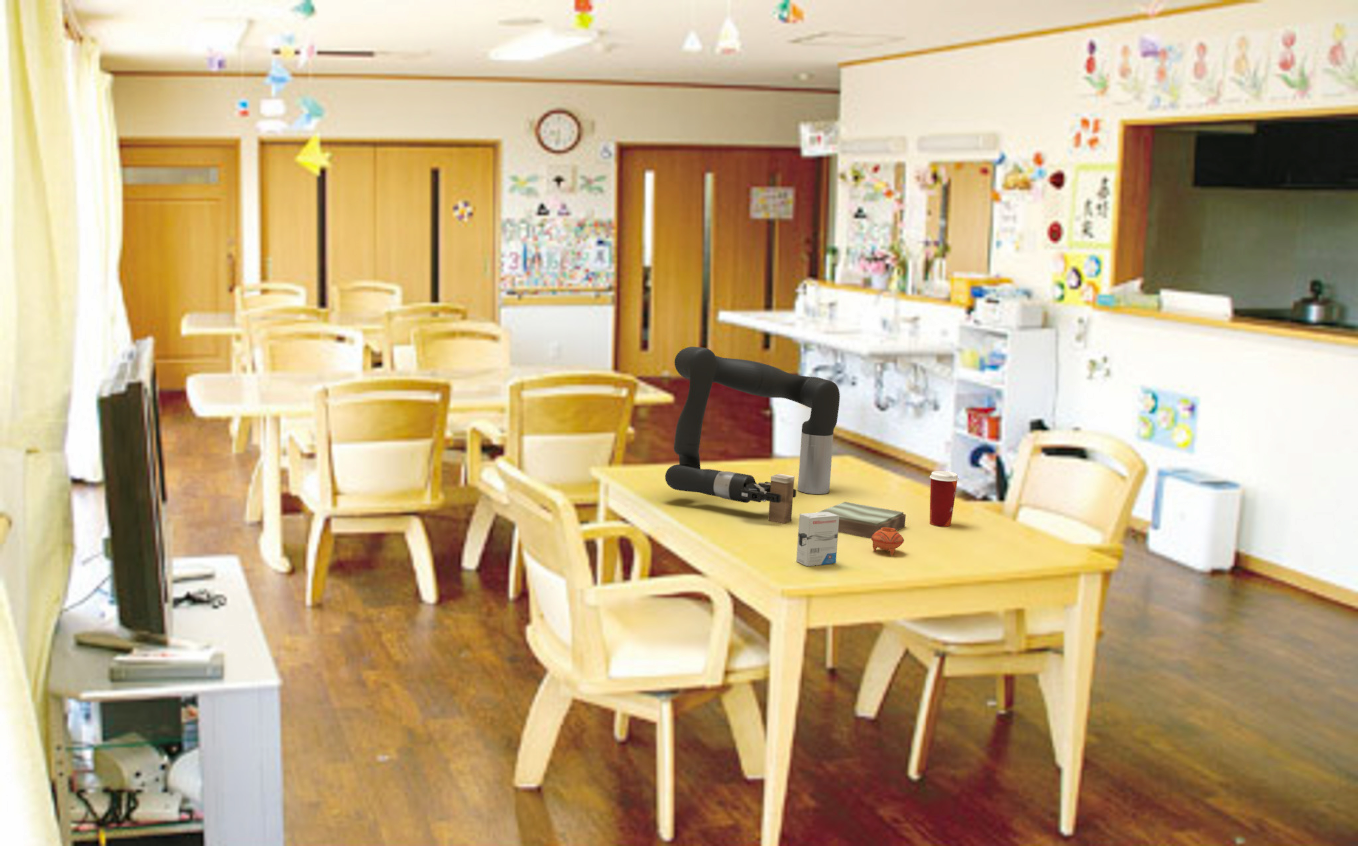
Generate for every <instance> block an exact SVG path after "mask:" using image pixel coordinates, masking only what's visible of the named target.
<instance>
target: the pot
mask: <svg viewBox="0 0 1358 846" xmlns="http://www.w3.org/2000/svg"><path fill="white" fill-rule="evenodd" d="M870 540H871V542H872V549H873V551H874V552H876V551H877V548H879V549H880V550H883V551H889V553H890V556H893V555H895V554H894V553H895V551H896V549H898V548H900V547H901V546H902V545H903V544H904V542H905V539H904V537H903V536H902V534H901V533H899V531H898V530H897V531H896V529H894V528H886V527H883V528H881V530H879V531H877V532H875V533H874V534H873V535H872V537H871V538H870Z"/></svg>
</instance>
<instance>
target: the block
mask: <svg viewBox="0 0 1358 846" xmlns="http://www.w3.org/2000/svg"><path fill="white" fill-rule="evenodd" d="M770 482H771V488H770V493H775V494H780V495H781V502H779V503H776V502H770V501H769V504H768V505H769V506H768V519H767V520H768V521H767V522H772V523H776V524H782V525H784V524H787V523H789V522H790V523H791V522H792V515H793V514H792V513H793V502H794V501H793V499H794V498H793V489H795V487H794V486H795V485H794V484H795V476H794V475H789V474H783V473H777V474H773V475H771V476H770Z"/></svg>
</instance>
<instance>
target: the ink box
mask: <svg viewBox="0 0 1358 846" xmlns="http://www.w3.org/2000/svg"><path fill="white" fill-rule="evenodd" d="M818 512H819V513H817V512H807V513H799V515H798V531H797V544H796V545H797V547H796V562H798V563H800V564H801V565H803V566H805V567H814V566H815V565H816V566H824V565H833V564H832V563H835V564H837V563H836V562H837V553H838V552H837V551H838V539H839V532H838V527H839V516H838V515H835V514H832V513H830V512H820V511H818Z"/></svg>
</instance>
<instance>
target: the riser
mask: <svg viewBox="0 0 1358 846" xmlns="http://www.w3.org/2000/svg"><path fill="white" fill-rule="evenodd" d="M819 512H830V513H832V514H835V515H838V516H839V527H838V533H842V534H847V535H851V534H852V536H858V537H861V538H868V539H871V537H872V535H873V534H874V533H875V532H877V531H879V530H881V528H883V527H886V528H894V529H896V530H897V531H899V530H901V529H903V528H906V517H907V515H906V513H904V512H903V511H898V510H893V509H889V508H882V507H876V506H871V505H865V504H859V503H855V502H848V501H843V502H841V503H838V504H836V505H833V506H830V507H828V508H825V509H823V510H820V511H817V512H816V513H819Z"/></svg>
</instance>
